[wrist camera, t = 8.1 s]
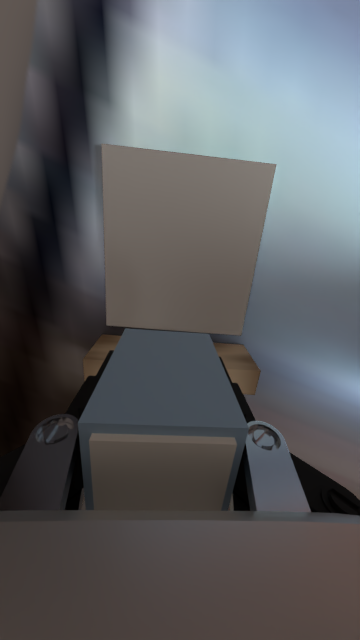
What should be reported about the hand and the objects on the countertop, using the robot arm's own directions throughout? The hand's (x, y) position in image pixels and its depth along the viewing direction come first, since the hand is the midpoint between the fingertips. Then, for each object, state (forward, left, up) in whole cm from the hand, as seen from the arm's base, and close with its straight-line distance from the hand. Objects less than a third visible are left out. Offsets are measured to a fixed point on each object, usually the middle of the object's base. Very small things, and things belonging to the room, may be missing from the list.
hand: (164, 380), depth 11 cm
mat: (-1, -6, -7) cm, 9 cm away
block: (0, 0, 0) cm, 0 cm away
